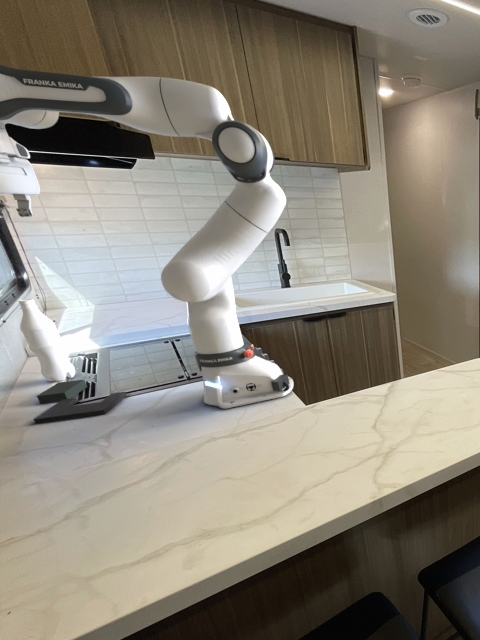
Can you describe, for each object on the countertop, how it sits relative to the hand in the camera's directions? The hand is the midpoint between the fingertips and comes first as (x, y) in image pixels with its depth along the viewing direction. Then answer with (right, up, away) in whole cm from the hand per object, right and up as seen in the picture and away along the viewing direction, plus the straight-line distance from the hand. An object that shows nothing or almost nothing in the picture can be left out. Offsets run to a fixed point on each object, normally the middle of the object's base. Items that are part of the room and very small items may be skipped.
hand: (12, 217), depth 86 cm
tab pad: (-20, -40, +29) cm, 53 cm away
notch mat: (-6, -43, +21) cm, 48 cm away
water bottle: (-33, -35, +40) cm, 63 cm away
